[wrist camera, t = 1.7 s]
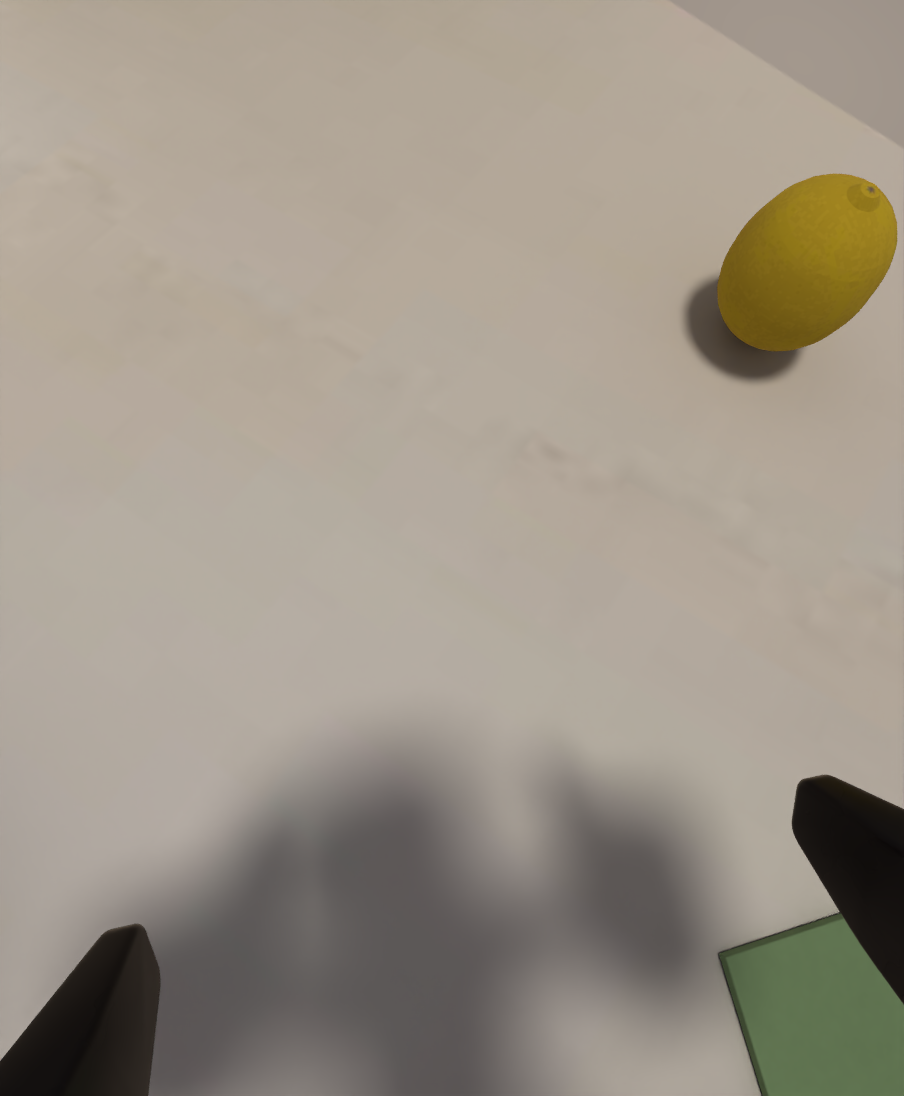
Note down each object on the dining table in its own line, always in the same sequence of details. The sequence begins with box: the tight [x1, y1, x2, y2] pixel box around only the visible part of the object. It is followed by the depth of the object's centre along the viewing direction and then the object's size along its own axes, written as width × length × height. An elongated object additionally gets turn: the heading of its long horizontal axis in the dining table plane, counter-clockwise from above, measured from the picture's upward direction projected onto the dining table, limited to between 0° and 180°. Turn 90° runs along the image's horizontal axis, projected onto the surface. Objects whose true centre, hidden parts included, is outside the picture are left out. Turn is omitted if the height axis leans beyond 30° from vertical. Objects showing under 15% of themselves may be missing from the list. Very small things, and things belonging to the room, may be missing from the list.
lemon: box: [717, 174, 897, 351], centre depth 26 cm, size 6×6×8 cm
